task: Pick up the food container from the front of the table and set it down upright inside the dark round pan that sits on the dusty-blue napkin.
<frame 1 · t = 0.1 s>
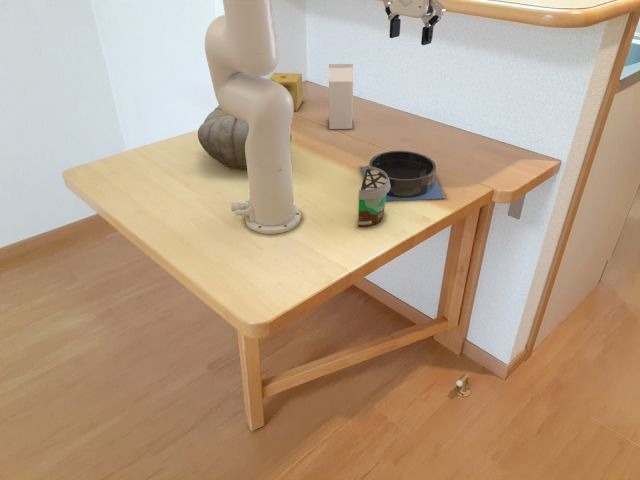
hand: (409, 40, 124), 31 cm above the table, tool pointing down, fingers open, 9 cm apart
pan: (400, 182, 130), resting on napkin
napkin: (400, 182, 130), on the table
gourd: (247, 159, 143), on the table
cheese: (286, 106, 177), on the table
milk carton: (340, 125, 162), on the table
food container: (374, 218, 117), on the table
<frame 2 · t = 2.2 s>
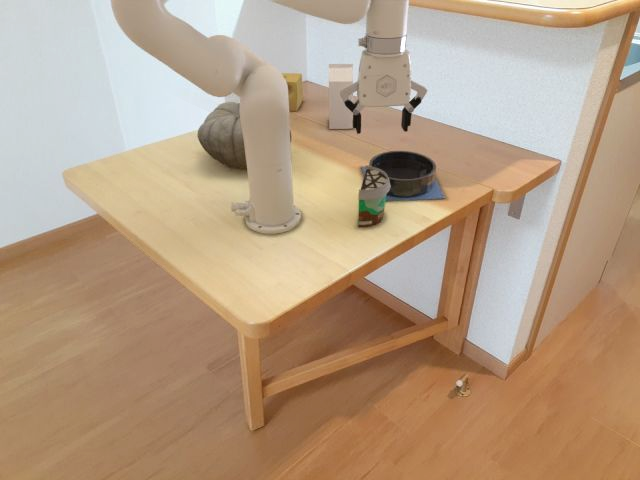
hand: (381, 130, 106), 21 cm above the table, tool pointing down, fingers open, 9 cm apart
nothing on the table moved.
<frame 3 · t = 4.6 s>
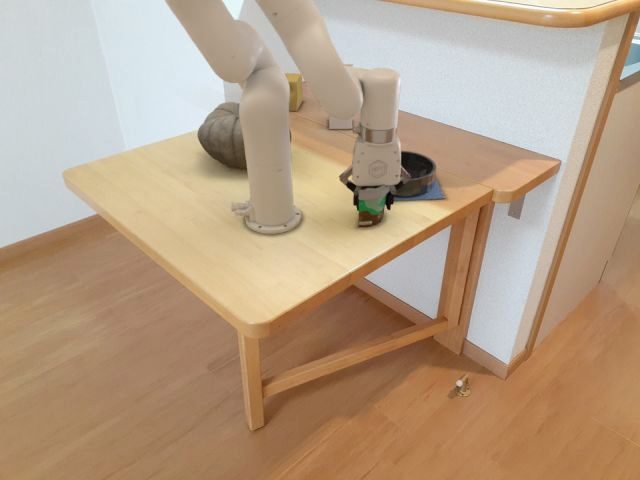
hand: (372, 206, 115), 3 cm above the table, tool pointing down, fingers closed on food container, 6 cm apart
food container: (374, 218, 117), on the table, touching gripper
everything else where it was.
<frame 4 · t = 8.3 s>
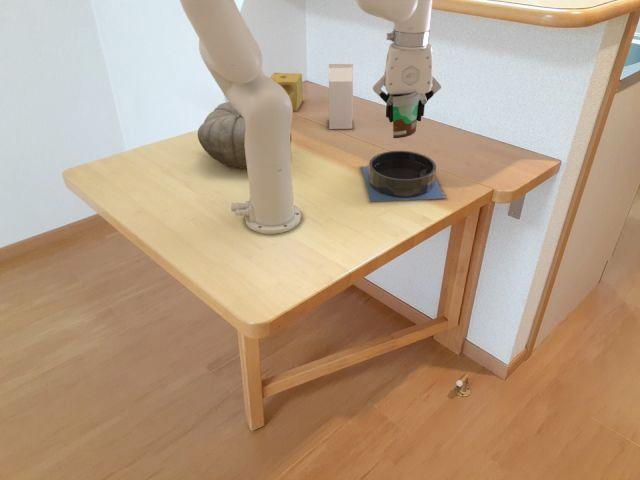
hand: (404, 118, 119), 18 cm above the table, tool pointing down, fingers closed on food container, 5 cm apart
food container: (407, 131, 121), point 15 cm above the table, touching gripper
everything else where it was.
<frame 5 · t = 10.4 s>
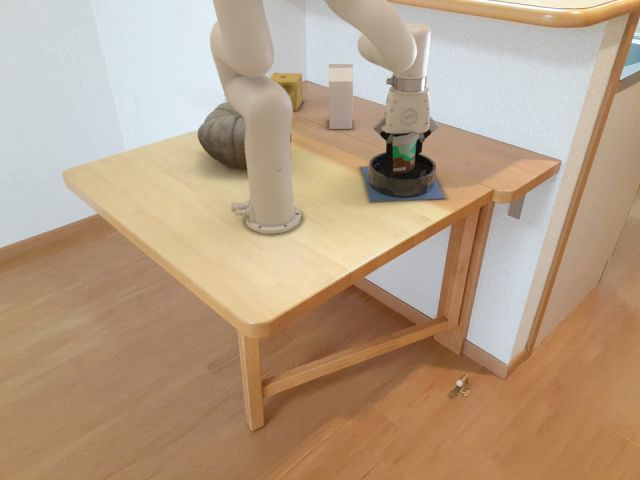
hand: (403, 155, 126), 8 cm above the table, tool pointing down, fingers closed on food container, 5 cm apart
food container: (406, 166, 128), point 5 cm above the table, touching gripper
everything else where it was.
when the fingers open (3 cm above the table, at t = 11.9 s): food container stays where it is, resting on pan.
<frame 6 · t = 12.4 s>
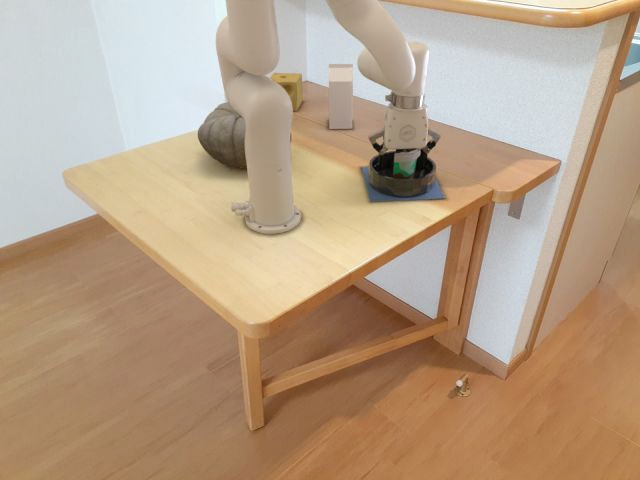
hand: (401, 166, 128), 4 cm above the table, tool pointing down, fingers open, 9 cm apart
food container: (405, 181, 130), resting on pan
everything else where it was.
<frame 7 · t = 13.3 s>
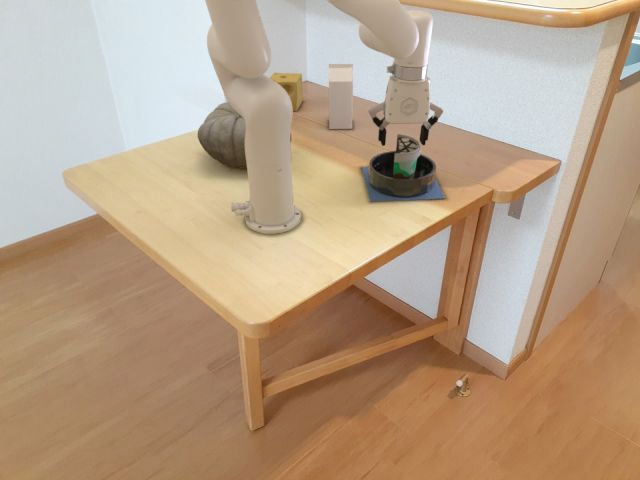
hand: (402, 143, 124), 11 cm above the table, tool pointing down, fingers open, 9 cm apart
nothing on the table moved.
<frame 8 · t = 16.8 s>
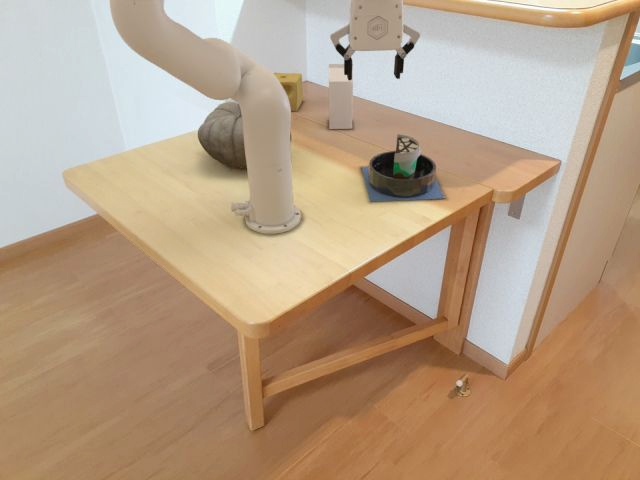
hand: (373, 77, 104), 30 cm above the table, tool pointing down, fingers open, 9 cm apart
nothing on the table moved.
at the end: food container inside the target area in the pan (1.1 cm from its centre), point 0.3 cm above the pan's base; food container tilted 0°; the gripper is holding nothing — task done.
